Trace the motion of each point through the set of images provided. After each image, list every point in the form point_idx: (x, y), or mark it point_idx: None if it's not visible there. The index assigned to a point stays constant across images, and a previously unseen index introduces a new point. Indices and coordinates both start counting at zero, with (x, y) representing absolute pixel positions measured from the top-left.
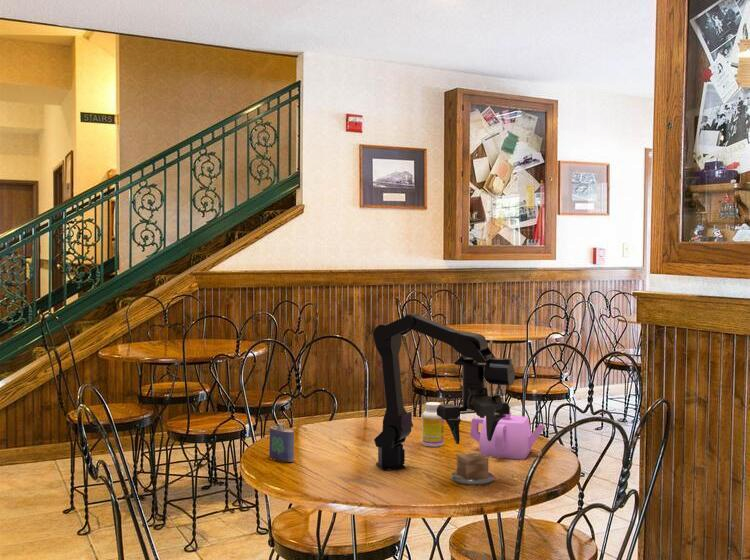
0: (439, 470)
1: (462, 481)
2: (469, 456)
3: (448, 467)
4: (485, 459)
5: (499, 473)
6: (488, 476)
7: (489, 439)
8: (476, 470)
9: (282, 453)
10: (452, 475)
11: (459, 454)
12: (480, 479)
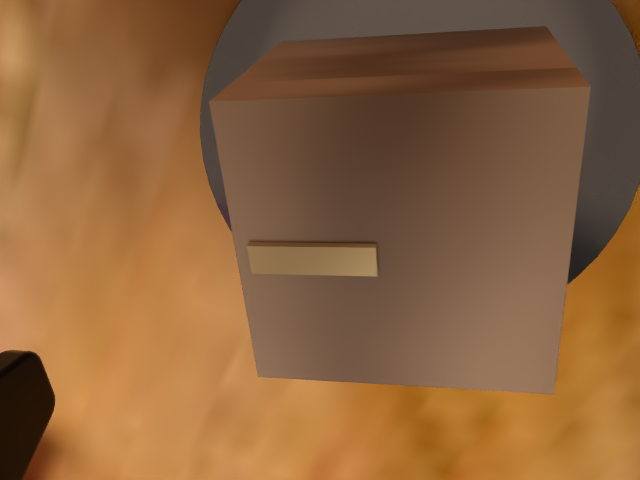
0: (558, 438)
1: (618, 14)
2: (434, 275)
3: (448, 466)
4: (261, 94)
5: (115, 219)
6: None
7: (16, 369)
8: (423, 52)
9: None
10: (609, 223)
11: (516, 390)
12: (391, 2)
